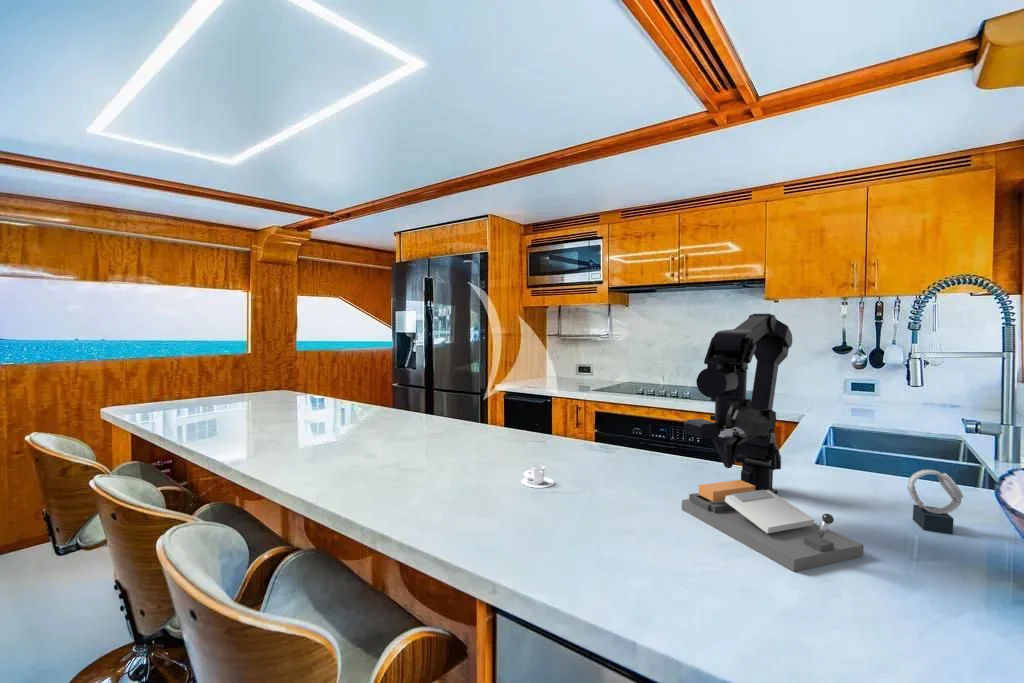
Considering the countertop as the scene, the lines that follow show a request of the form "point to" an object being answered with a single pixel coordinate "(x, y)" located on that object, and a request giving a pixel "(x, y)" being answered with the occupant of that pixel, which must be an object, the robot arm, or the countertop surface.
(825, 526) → the toggle lever
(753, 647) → the countertop surface
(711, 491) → the push button
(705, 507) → the panel
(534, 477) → the teacup and saucer
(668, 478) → the countertop surface
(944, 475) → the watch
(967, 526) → the countertop surface
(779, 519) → the rocker switch
